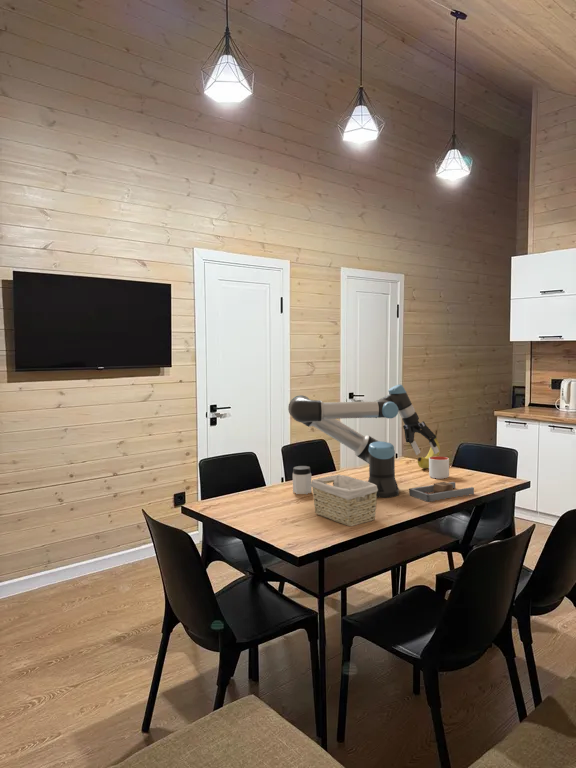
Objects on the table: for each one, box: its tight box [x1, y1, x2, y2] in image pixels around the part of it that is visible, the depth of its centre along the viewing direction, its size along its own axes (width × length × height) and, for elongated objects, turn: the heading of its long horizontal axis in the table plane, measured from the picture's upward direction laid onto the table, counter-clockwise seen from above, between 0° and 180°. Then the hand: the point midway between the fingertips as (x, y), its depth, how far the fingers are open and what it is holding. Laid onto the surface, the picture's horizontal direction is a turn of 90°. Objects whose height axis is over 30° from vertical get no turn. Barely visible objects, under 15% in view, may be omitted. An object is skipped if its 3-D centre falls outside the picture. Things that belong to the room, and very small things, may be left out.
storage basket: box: [311, 474, 378, 527], centre depth 228 cm, size 24×16×15 cm
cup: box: [428, 455, 450, 480], centre depth 293 cm, size 10×10×10 cm
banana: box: [417, 429, 441, 469], centre depth 317 cm, size 23×6×20 cm, turn 139°
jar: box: [292, 465, 313, 495], centre depth 269 cm, size 9×8×12 cm
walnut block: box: [433, 481, 454, 493], centre depth 259 cm, size 6×6×5 cm
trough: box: [408, 481, 475, 503], centre depth 259 cm, size 26×13×3 cm, turn 115°
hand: (427, 453), depth 277 cm, fingers open, 13 cm apart
